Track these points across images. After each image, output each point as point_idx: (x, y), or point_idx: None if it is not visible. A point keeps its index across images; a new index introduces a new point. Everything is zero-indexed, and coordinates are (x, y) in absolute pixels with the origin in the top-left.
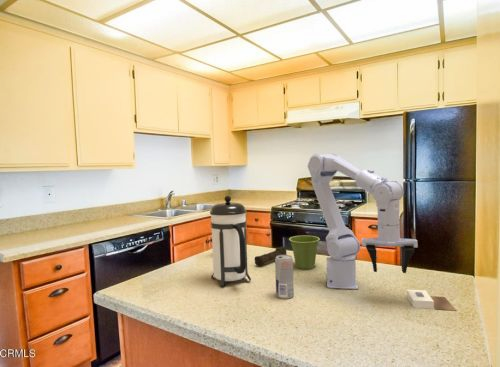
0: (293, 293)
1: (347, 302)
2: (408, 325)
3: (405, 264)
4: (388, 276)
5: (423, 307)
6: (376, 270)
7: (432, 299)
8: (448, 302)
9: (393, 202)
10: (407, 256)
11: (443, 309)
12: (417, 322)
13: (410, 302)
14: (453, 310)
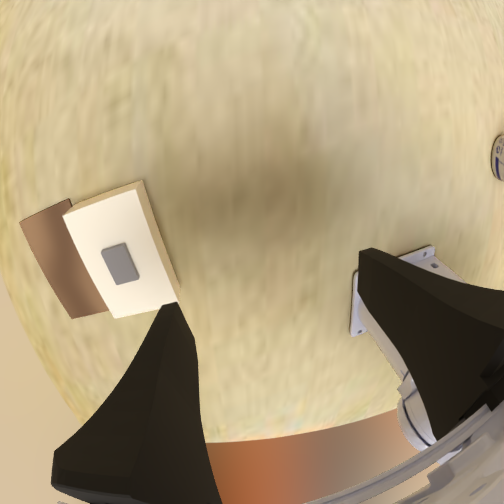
0: (497, 156)
1: (391, 141)
2: (164, 2)
3: (154, 347)
4: (252, 397)
5: (105, 192)
6: (367, 254)
7: (93, 285)
8: (50, 279)
9: None
10: (122, 414)
11: (47, 208)
12: (128, 40)
13: (158, 229)
14: (26, 219)
